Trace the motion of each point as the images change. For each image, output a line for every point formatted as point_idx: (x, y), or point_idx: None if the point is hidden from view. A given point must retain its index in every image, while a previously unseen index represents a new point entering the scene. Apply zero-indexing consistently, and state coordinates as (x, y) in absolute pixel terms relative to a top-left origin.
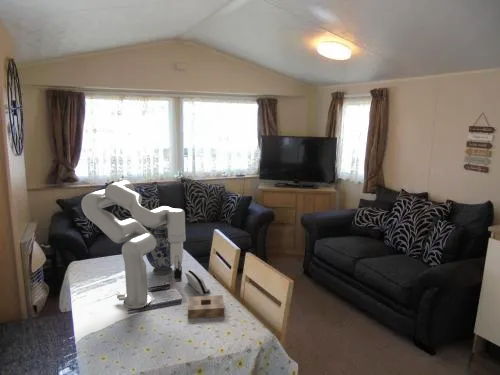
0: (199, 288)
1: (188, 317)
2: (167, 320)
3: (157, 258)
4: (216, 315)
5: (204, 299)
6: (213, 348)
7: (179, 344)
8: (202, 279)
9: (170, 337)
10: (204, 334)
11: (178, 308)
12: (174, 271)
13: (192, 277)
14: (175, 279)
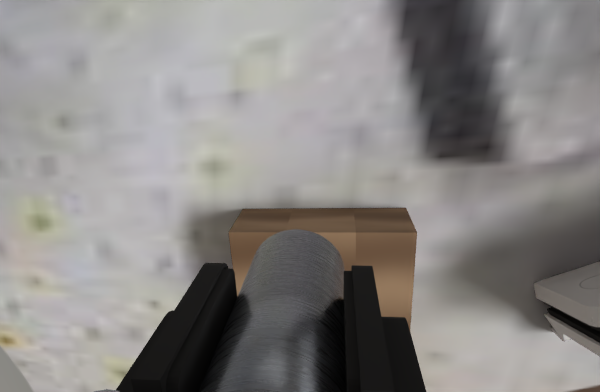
0: (560, 298)
1: (242, 213)
2: (221, 88)
3: None
4: None
5: None
6: (8, 312)
7: (3, 175)
8: None
9: (51, 125)
10: (100, 284)
11: (367, 147)
12: (148, 366)
13: None
14: (259, 257)
